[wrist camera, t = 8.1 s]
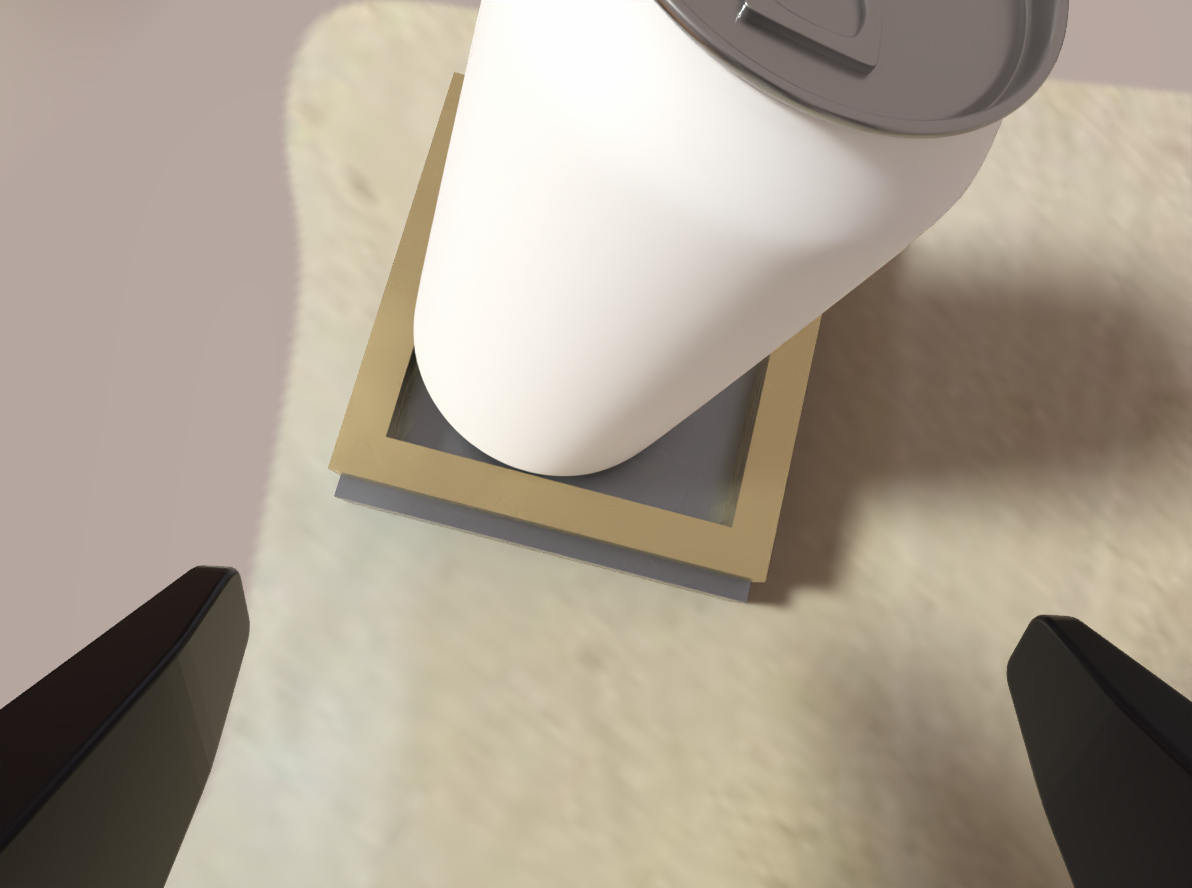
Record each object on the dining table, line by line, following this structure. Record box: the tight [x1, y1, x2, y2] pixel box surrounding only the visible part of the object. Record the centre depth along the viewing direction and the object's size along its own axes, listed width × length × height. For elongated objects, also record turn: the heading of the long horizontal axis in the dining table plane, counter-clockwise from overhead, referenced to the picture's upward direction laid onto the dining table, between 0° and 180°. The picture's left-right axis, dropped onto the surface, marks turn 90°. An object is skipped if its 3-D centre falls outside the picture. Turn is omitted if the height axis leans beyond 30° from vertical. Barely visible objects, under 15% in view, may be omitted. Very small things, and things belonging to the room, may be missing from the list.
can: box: [414, 0, 1069, 476], centre depth 14 cm, size 6×6×12 cm
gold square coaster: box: [328, 72, 822, 603], centre depth 20 cm, size 11×10×3 cm
